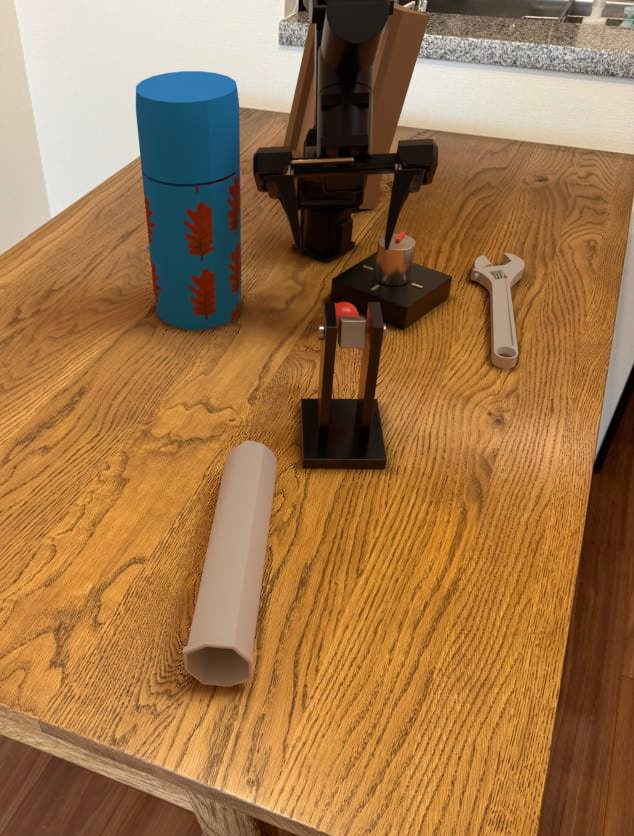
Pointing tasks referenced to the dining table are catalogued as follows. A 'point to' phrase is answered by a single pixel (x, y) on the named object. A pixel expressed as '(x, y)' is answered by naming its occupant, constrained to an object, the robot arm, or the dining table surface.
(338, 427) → the lever stand
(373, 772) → the dining table surface
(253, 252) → the dining table surface
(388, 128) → the photo frame
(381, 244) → the dial knob
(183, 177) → the thermos
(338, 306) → the lever
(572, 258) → the dining table surface
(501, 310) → the adjustable wrench
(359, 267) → the dial base
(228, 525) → the tube
